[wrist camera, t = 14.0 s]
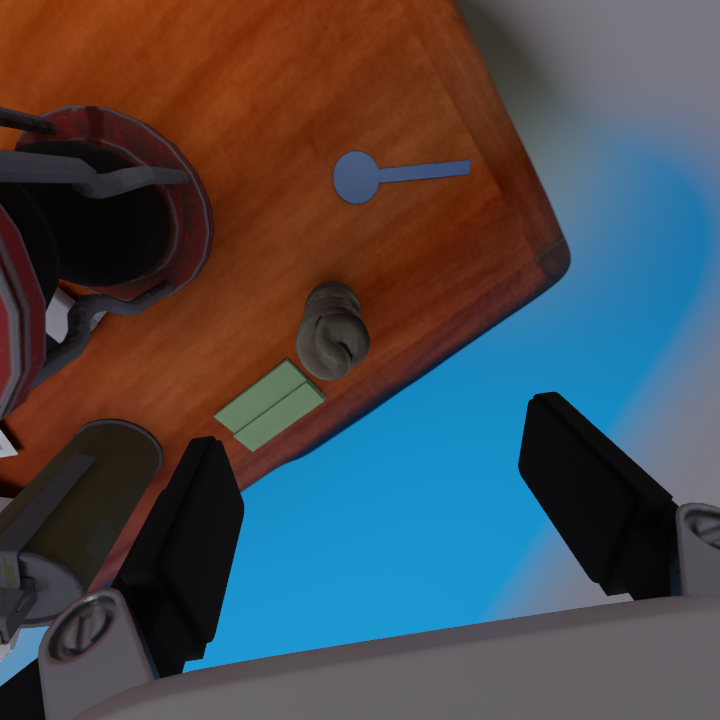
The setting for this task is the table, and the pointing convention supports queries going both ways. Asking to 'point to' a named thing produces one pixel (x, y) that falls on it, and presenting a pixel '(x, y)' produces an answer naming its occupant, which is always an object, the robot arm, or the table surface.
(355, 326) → the grey spiral shell
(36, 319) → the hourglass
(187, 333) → the table surface
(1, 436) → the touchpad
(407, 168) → the spoon
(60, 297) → the mobile phone
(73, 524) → the canister
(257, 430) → the towel
